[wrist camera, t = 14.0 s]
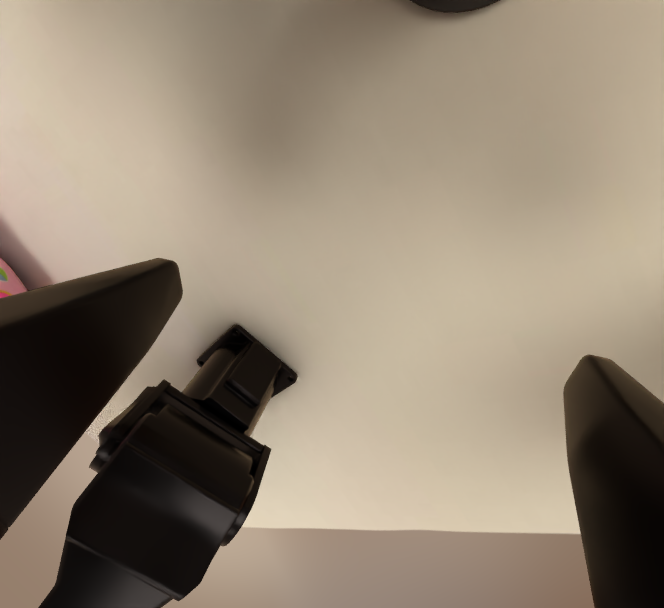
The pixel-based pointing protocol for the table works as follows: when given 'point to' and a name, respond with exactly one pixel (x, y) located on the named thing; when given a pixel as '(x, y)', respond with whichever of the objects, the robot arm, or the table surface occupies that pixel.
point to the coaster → (453, 4)
